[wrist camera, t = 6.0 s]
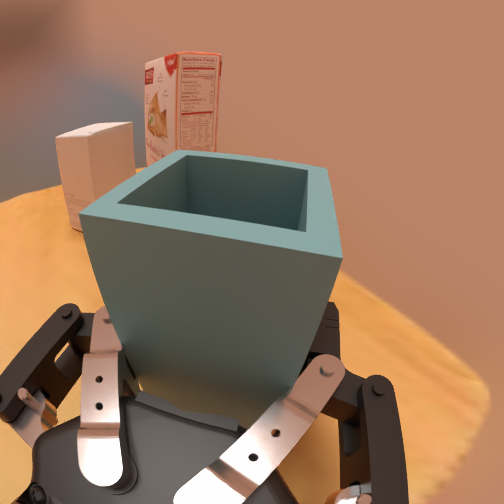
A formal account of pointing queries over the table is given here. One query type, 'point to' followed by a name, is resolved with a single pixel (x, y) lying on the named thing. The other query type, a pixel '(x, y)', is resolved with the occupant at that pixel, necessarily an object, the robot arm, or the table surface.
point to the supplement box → (94, 163)
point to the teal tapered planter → (216, 275)
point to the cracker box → (181, 103)
